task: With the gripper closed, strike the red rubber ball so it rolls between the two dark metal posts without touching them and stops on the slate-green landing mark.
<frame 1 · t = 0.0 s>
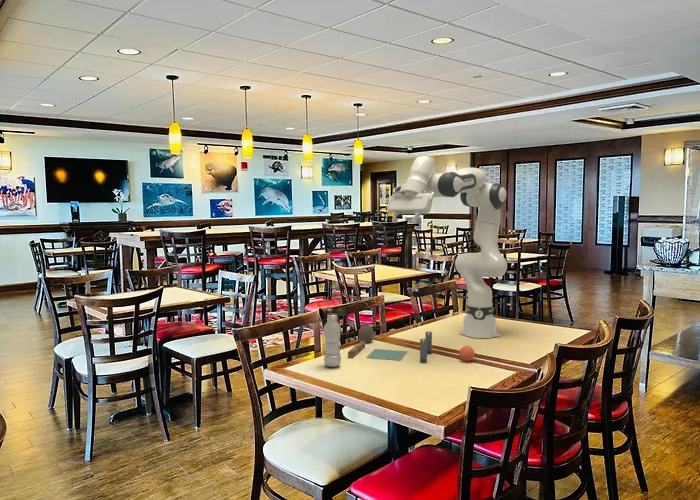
hand: (403, 222, 205), 54 cm above the table, tool tilted 30°, fingers open, 8 cm apart
post 2: (428, 353, 215), on the table
post 1: (423, 362, 203), on the table
plastic bottle: (332, 367, 198), on the table
landing mark: (387, 354, 214), on the table
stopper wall: (356, 352, 218), on the table
ball: (466, 353, 204), on the table
vase: (366, 342, 235), on the table
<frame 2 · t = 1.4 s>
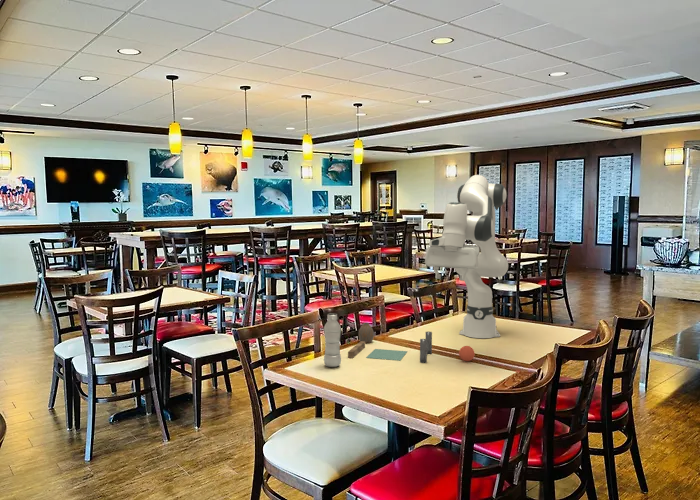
hand: (449, 279, 196), 33 cm above the table, tool pointing down, fingers open, 8 cm apart
nothing on the table moved.
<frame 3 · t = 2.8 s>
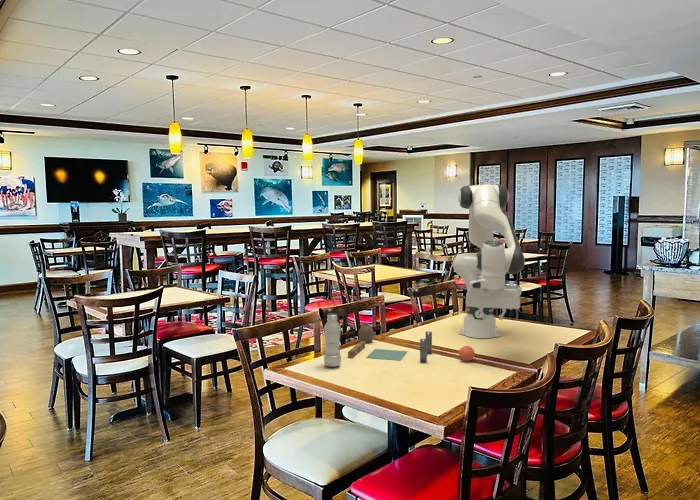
hand: (492, 319, 200), 17 cm above the table, tool pointing down, fingers open, 5 cm apart
nothing on the table moved.
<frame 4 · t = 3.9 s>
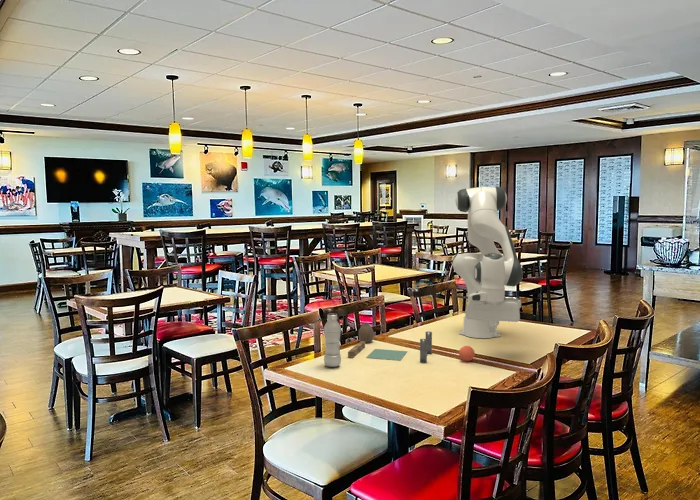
hand: (492, 331, 200), 12 cm above the table, tool pointing down, fingers closed
nothing on the table moved.
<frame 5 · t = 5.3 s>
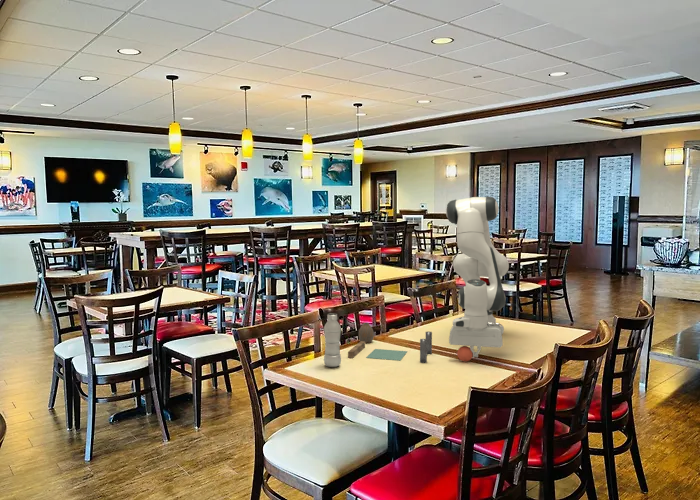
hand: (475, 357, 203), 2 cm above the table, tool pointing down, fingers closed
ball: (465, 353, 204), on the table, touching gripper
everything else where it was.
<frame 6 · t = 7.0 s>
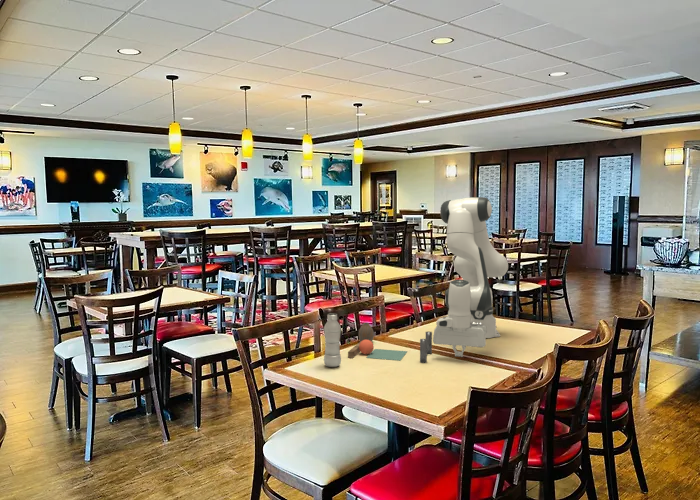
hand: (459, 356, 205), 2 cm above the table, tool pointing down, fingers closed
ball: (366, 346, 215), on the table
everything else where it was.
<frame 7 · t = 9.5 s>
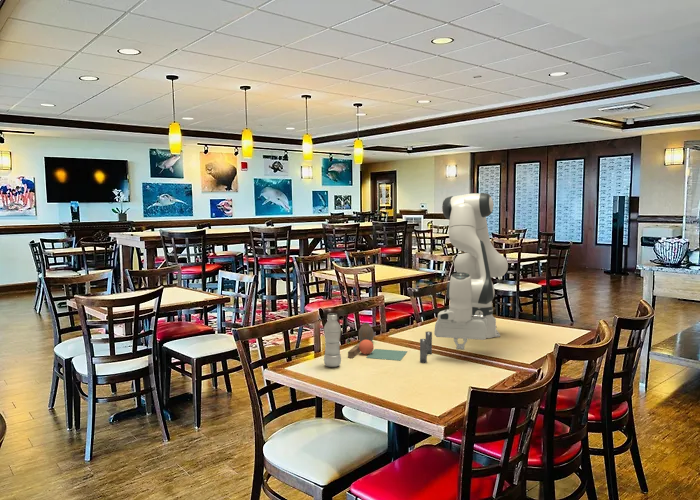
hand: (460, 349, 205), 4 cm above the table, tool pointing down, fingers closed
nothing on the table moved.
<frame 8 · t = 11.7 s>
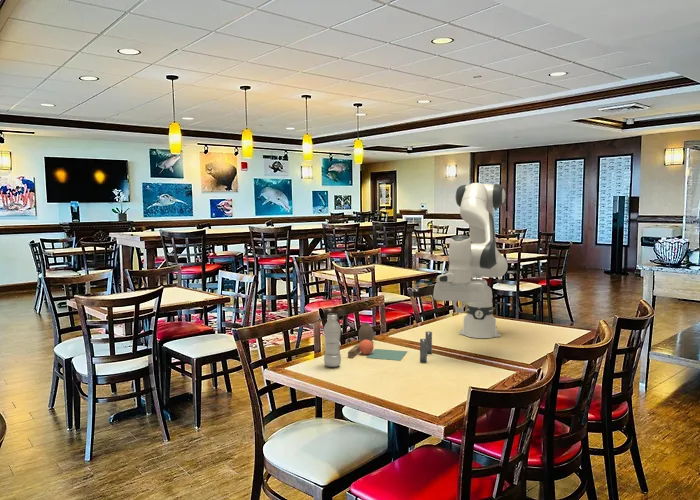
hand: (459, 312, 204), 19 cm above the table, tool pointing down, fingers closed
nothing on the table moved.
at the end: ball 8.6 cm from the landing mark (horizontally); ball never touched post 2; ball never touched post 1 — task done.
